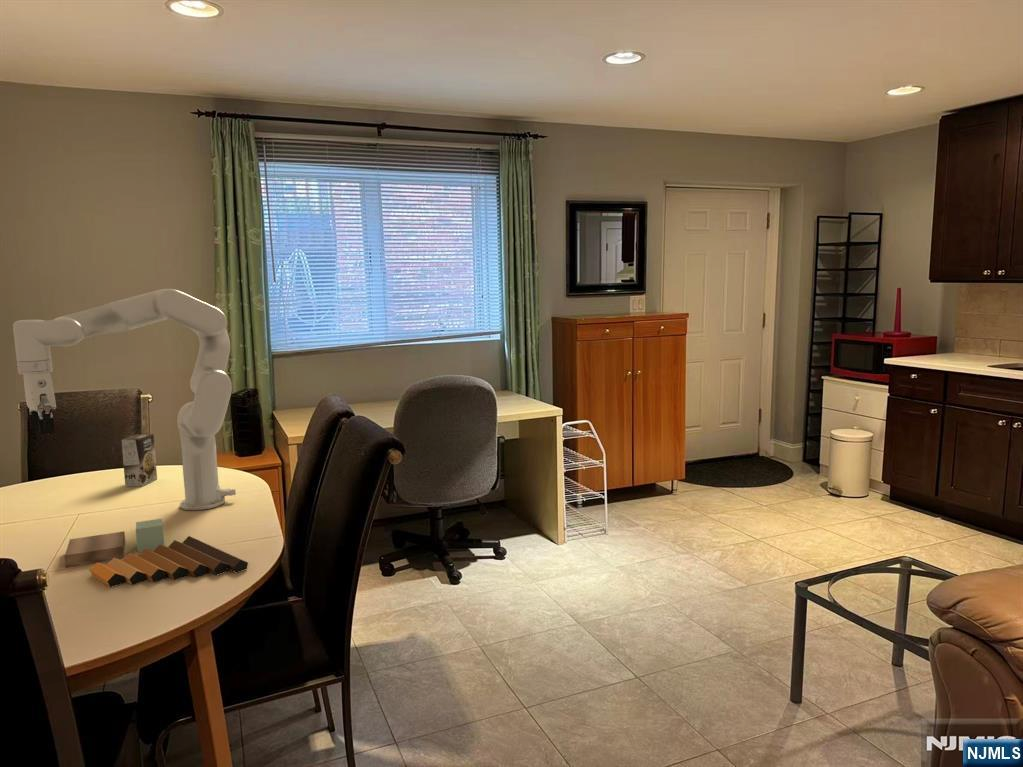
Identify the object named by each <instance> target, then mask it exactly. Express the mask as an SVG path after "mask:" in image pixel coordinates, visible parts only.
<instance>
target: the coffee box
mask: <svg viewBox="0 0 1023 767" xmlns="http://www.w3.org/2000/svg"><path fill="white" fill-rule="evenodd" d="M154 435H155V434H154V433H144V434H143V433H142V434H139V433H138V434H133V435H131V436H128V437H124V438H123V439H121V451H122V464H123V474H124V487H141V488H142V487H145V486H146V485H148V484H151V483H152V482H155V481H156V480H158V473H157V472H158V471H157V462H156V461H157V460H156V459H157V458H156V449H155V448H156V446H155V436H154Z"/></svg>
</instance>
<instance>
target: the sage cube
mask: <svg viewBox="0 0 1023 767" xmlns="http://www.w3.org/2000/svg"><path fill="white" fill-rule="evenodd" d="M163 523H164V521H163V518H157V519H156V518H155V519H150V520H149V519H148V520H143V521H136V522H135V536H136V547H137V552H138V553H141V552H142V551H143V550H144V549H148V550H151V551H154V550H155V549H156V548H157V547H158V546H159V545H160V544H161V545H163V546H165V537H164V536H165V535H164V524H163ZM140 551H141V552H140Z"/></svg>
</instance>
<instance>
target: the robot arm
mask: <svg viewBox="0 0 1023 767" xmlns="http://www.w3.org/2000/svg"><path fill="white" fill-rule="evenodd" d="M165 320H170V321H173V322H174V323H177V324H179V325H181V326H184V327H186V328H187V329H191V331H193V332H194V333H195V334H196V335H197V336H196V337H198V341H199V347H198V348H199V349H198V354H197V358H196V362H195V365H194V369H193V371H192V375H191V377H190V381H189V382H190V383H189V385H190V386H189V387H190V390H191V391H192V393H193V394H194V398H193V401H189V402H187V403H185V404H184V405H183V406H181V407H180V409H179V411H178V413H177V418H176V419H177V422H176V423H177V428H178V429H177V430H178V432H179V433H178V434H179V438H180V439H179V440H180V448H181V461H182V475H183V476H182V477H183V485H184V486H183V487H184V499H183V500H182V501H180V502H179V508H181V509H182V510H185V511H204V510H209V509H213V508H218V507H220V506H222V505H223V504H225V502H226V497H228V496H236V495H237V494H236V493H237V492H236V488H232V489H231V488H230V487H229V488H228V487H227V488H224V489H223V488H221V486H220V485H219V483H220V482H219V473H218V472H219V471H218V470H219V469H218V460H217V458H218V457H217V443H216V434H217V433H218V432H219V431H220V430H221V428H222V426H223V424H224V420H225V417H226V414H227V410H228V406H229V402H230V399H231V394H232V390H233V387H232V384H233V383H232V380H231V378H230V376H229V375H228V373H226V371H227V367H228V362H229V359H230V358H229V357H230V353H231V339H230V336H229V334H228V333H229V332H228V330H227V326H228V320H227V317H226V315H225V313H224V312H223V311H222V310H221V309H219V308H218V307H216V306H214V305H211V304H209V303H207V302H205V301H202V300H200V299H197V298H195V297H193V296H191V295H189V294H187V293H185V292H183V291H181V290H178V289H174V288H162V289H157V290H153V291H149V292H146V293H142V294H138V295H136V296H135V295H134V296H131V297H127V298H124V299H120V300H116V301H113V302H109V303H105V304H103V305H100V306H96V307H92V308H89V309H85V310H81V311H77V312H73V313H69V314H65V315H62V316H58V317H56V318H54V319H51V320H43V319H21V320H16V321H15V322H14V323H13V325H12V329H13V330H12V332H13V338H14V347H15V356H16V364H17V371H18V372H17V373H18V374H19V375H23V387H24V395H25V401H26V406H27V408H28V409H29V410H28V413H29V415H28V416H29V425H30V430H38V429H39V434H40V435H41V436H42V435H43V436H44V435H50V434H54V433H55V422H54V417H53V416H54V415H53V410H56V408H57V403H56V397H55V396H56V395H55V392H54V386H53V379H52V376H51V373H52V372H53V371H54V368H53V359H52V352H51V346H53V347H73V346H76V345H77V344H79V343H81V341H82V340H84V339H89V338H92V337H95V336H100V335H103V334H109V333H122V332H127V331H132V330H134V329H135V330H136V329H138V328H141V327H144V326H148V325H152V324H155V323H158V322H163V321H165Z"/></svg>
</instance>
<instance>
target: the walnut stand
mask: <svg viewBox="0 0 1023 767" xmlns="http://www.w3.org/2000/svg"><path fill="white" fill-rule="evenodd" d="M125 549H126V535H125V531H117V532H111V533H105V534H97V535H91V536H84V537H83V536H82V537H78V538H71V539H69V541H68V544H67V547H66V551H65V553H64V560H65V562H64V563H65V568H71V567H78V566H84V565H88V564H96V563H97V562H98V563H101V562H102V563H103V562H107V561H108V562H110V561H111V560H112V559H113V558H117V559H120V558H121V559H124V558H125ZM121 559H120V560H121Z"/></svg>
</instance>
